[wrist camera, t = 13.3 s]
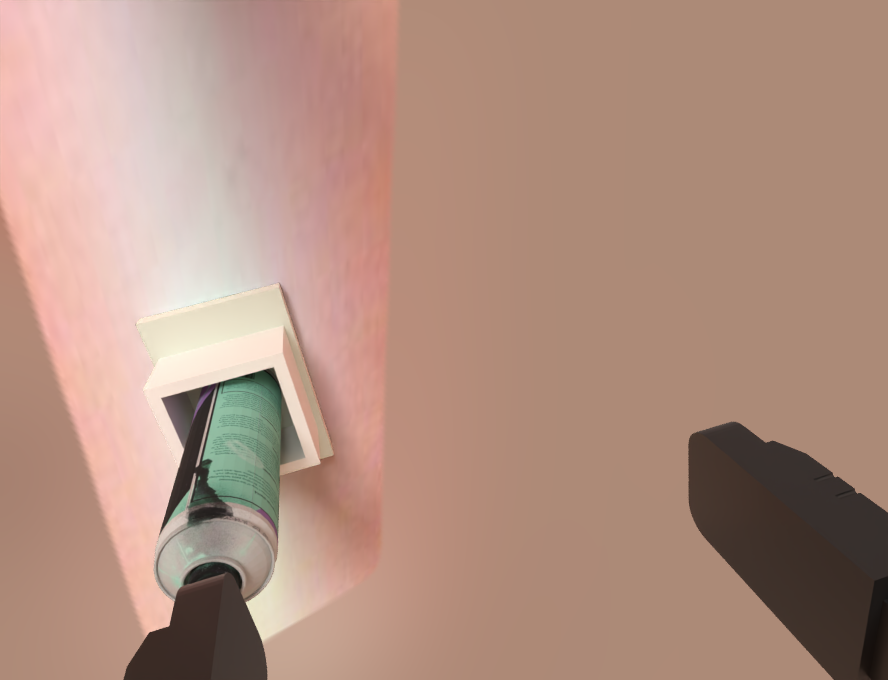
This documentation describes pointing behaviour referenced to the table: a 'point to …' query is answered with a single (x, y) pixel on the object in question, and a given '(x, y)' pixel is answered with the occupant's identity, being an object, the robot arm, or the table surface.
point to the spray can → (226, 489)
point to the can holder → (232, 368)
